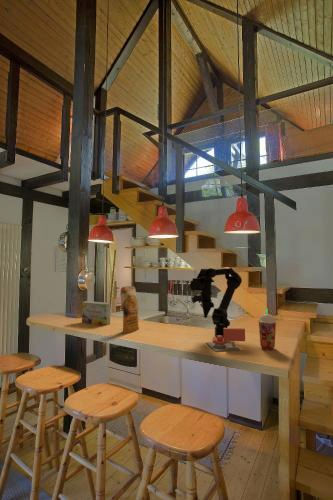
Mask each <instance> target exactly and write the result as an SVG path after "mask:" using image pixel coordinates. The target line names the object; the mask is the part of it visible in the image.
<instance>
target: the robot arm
mask: <svg viewBox="0 0 333 500" xmlns="http://www.w3.org/2000/svg"><path fill="white" fill-rule="evenodd" d="M223 275H224V278H225V279H226V285H227V287H226V289H225V291H224V294H223V296H222V299H221V301H220V304H219V306H218V307H215V304H214V302H213V301H212V294H213V292H212V286H213V285H212V283H215V280H214V279H213V278H215V277H216V276H223ZM242 282H243V279H242V277H241V275H240V274H239V273H238V272H236V271H235V270H234V269H233V268H232V267H223V268H222V267H221V268H210V267H207V268H206V267H201V269H200V271H199V273H198V274H197V276H196V278H195V277H193V278H192V280H191V282H190V283H189V288H190V290H191V291H197V292H198V291H200V292H199V293H198V294H195V295H192V296H191V297H190V298H191V301H192V303H193V304H195V303H196V302H198V303H199V306H201V308H202V311H203V312H202V313H203V317H204V318H205V319H206V318H207V317H208V315H209V313H210V311H211V309H213V308H214V309H213V312H212V313H211V319H212V323H213V325H215V327H214V335H215V336H216V337H217V336H218V335H221V336H223V338H224V328H229V327H230V325H231V322H230V320H229V319H228V309H229V306H230V304H231V301H232V298H233V296H234V293H235V291H236V290H238V288H240V286H241V283H242Z"/></svg>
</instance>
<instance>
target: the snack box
mask: <svg viewBox="0 0 333 500" xmlns="http://www.w3.org/2000/svg"><path fill="white" fill-rule="evenodd" d="M81 323H82V324H83V323H84V324H90V325H91V324H92V325H99V326H108V325H110V324H111V302H101V301H89V300H88V301H87V300H85V301H82V302H81Z"/></svg>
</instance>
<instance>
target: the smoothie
mask: <svg viewBox="0 0 333 500" xmlns="http://www.w3.org/2000/svg"><path fill="white" fill-rule="evenodd" d="M265 309H266V310H265V312H266V313H263V314H262V315H261V316H259V319H258V329H259V342H260V346H261V349H263V350H265V349H268V350H267V351H272V350H271V349H273V350H274V348H275V347H276V346H275V345H276V332H277V331H276V330H277V329H276V328H277V321H276V319H275V318H274V316H273V315H271V314H270V313H269V312H268V311H269V310H268V308H265Z"/></svg>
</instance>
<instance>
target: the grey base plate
mask: <svg viewBox="0 0 333 500" xmlns="http://www.w3.org/2000/svg"><path fill="white" fill-rule="evenodd" d="M205 343H206V345H207V344H208V345H209V346H210V347H209V346H208V345H207V346H208V347H209V348H210V349H212V350H213V351H214V352H215V351H220V352H234V351H235V350H239V351H241V348H240V347H238V346H237V345H236V344H235V343H236V341H227V343H226V344H215V343H213V341H208V342H207V341H206V342H205ZM235 352H236V351H235Z"/></svg>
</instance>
